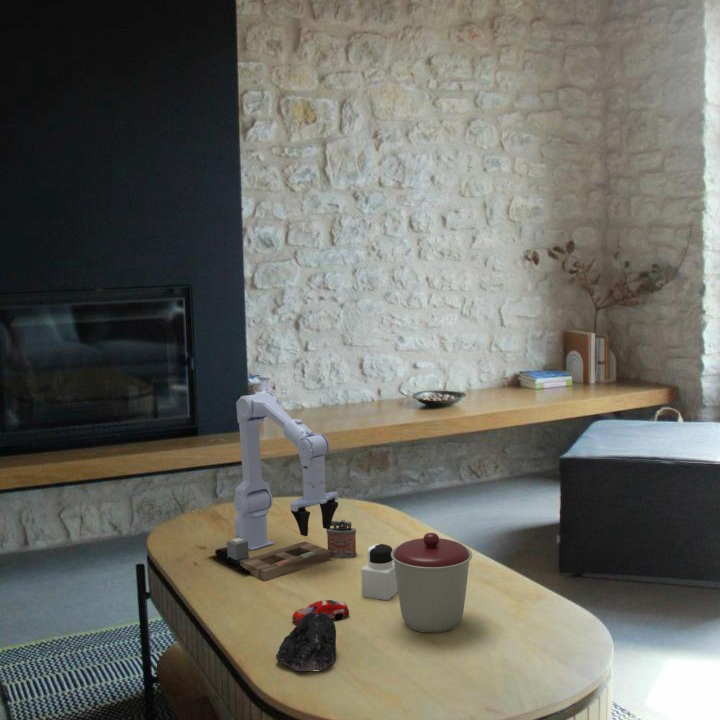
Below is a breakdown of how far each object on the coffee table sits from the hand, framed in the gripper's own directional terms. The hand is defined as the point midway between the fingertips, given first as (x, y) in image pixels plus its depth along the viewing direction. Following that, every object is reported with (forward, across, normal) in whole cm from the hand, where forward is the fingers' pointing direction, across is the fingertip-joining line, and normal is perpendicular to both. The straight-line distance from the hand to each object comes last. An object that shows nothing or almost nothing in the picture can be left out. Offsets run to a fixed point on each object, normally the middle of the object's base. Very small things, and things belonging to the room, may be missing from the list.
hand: (315, 531), depth 248 cm
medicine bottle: (+10, 0, -24) cm, 26 cm away
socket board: (+10, -4, +8) cm, 13 cm away
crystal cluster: (+10, -35, -39) cm, 54 cm away
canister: (+10, -4, -45) cm, 47 cm away
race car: (+10, -20, -25) cm, 34 cm away
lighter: (+10, +11, +3) cm, 15 cm away
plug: (+10, -12, +19) cm, 24 cm away
